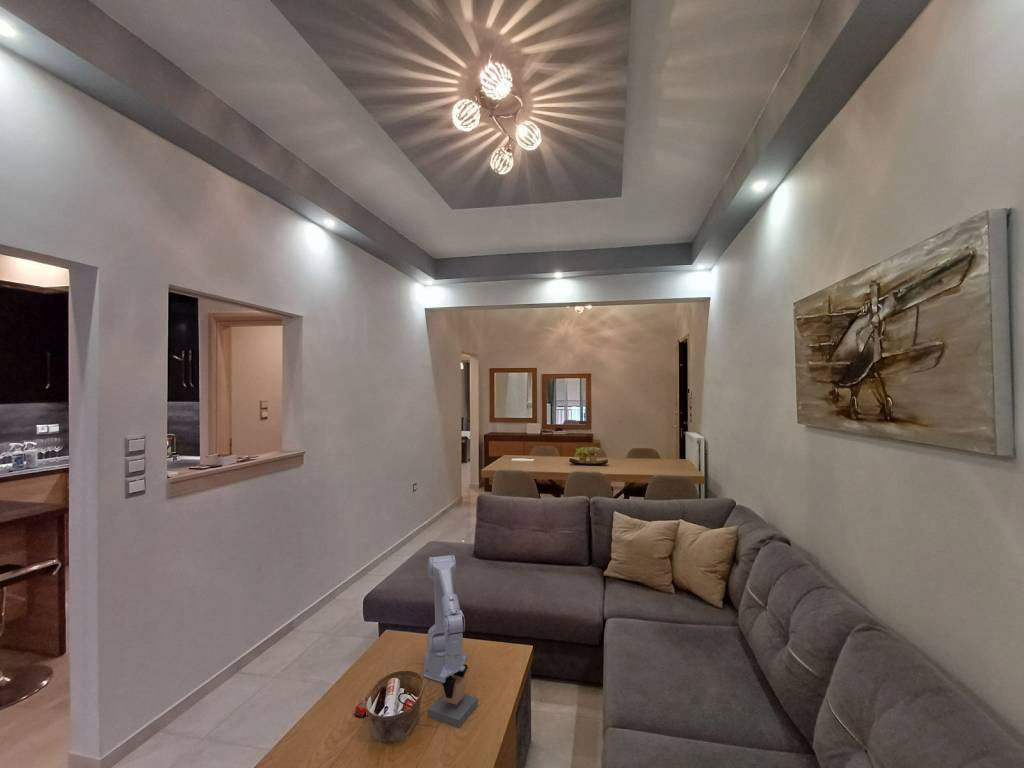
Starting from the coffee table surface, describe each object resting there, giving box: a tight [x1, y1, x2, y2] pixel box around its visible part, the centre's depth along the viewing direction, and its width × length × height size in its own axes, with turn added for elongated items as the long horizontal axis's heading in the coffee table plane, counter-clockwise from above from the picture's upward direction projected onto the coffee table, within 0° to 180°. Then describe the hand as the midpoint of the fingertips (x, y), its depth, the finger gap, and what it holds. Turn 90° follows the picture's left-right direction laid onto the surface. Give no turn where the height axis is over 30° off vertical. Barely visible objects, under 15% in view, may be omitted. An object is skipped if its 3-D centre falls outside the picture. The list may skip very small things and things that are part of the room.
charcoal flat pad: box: [427, 693, 479, 729], centre depth 159 cm, size 12×12×3 cm
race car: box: [354, 697, 368, 718], centre depth 161 cm, size 13×5×4 cm, turn 132°
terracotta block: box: [442, 674, 465, 704], centre depth 159 cm, size 5×5×6 cm
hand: (453, 692), depth 159 cm, fingers closed on terracotta block, 5 cm apart
